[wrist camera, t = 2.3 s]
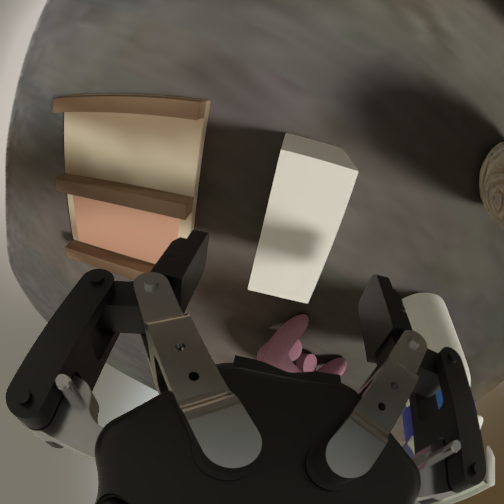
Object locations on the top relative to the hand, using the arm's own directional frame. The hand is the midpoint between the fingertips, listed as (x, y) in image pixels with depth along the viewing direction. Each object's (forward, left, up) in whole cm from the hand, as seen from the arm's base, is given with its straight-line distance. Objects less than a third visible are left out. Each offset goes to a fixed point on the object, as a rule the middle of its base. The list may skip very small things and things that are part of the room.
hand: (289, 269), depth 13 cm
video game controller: (+15, +6, -9) cm, 19 cm away
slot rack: (+2, -14, -9) cm, 16 cm away
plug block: (0, 0, -9) cm, 9 cm away
